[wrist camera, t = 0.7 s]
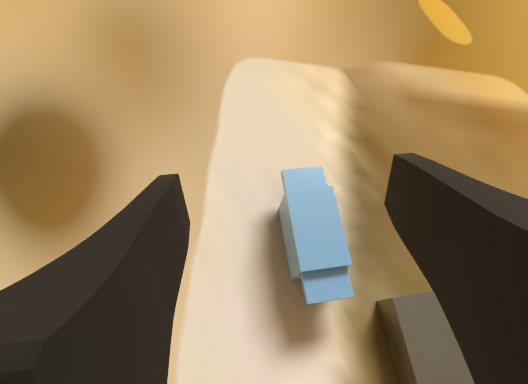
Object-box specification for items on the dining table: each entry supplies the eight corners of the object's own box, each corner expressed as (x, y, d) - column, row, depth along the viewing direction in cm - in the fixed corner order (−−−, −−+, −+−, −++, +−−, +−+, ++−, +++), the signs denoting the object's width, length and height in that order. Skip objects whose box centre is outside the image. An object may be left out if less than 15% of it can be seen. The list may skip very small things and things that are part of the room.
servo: (341, 300, 27) (360, 295, 23) (295, 307, 27) (307, 303, 23) (314, 183, 32) (326, 162, 28) (274, 187, 31) (280, 166, 27)
